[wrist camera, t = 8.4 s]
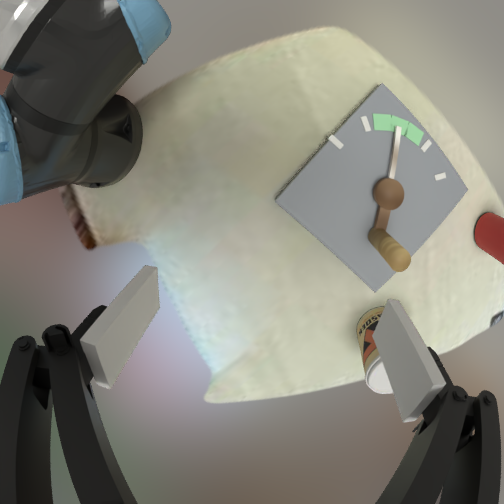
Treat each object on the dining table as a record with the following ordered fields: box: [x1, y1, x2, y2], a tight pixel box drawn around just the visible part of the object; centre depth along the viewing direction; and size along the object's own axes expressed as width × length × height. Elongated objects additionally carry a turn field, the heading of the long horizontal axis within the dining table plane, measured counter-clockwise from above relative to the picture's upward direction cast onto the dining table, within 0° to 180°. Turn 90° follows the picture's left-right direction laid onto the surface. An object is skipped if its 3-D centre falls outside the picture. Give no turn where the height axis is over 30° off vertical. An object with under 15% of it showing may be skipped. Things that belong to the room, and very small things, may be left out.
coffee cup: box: [357, 307, 393, 394], centre depth 36 cm, size 9×9×12 cm
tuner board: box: [275, 83, 468, 292], centre depth 33 cm, size 20×22×2 cm
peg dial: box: [368, 126, 411, 272], centre depth 27 cm, size 16×4×9 cm, turn 173°
